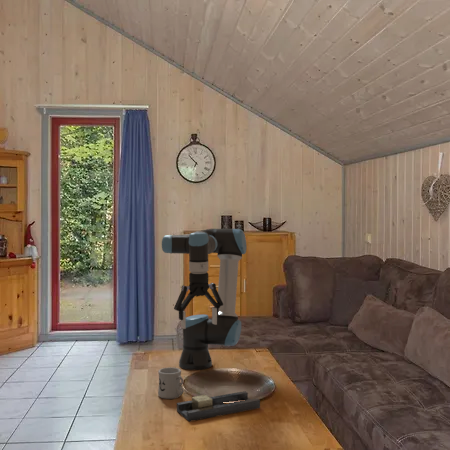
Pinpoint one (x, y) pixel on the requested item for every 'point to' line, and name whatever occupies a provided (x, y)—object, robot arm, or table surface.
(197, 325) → the robot arm
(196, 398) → the brushed top tan cube
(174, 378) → the mug
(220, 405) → the rail
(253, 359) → the table surface
